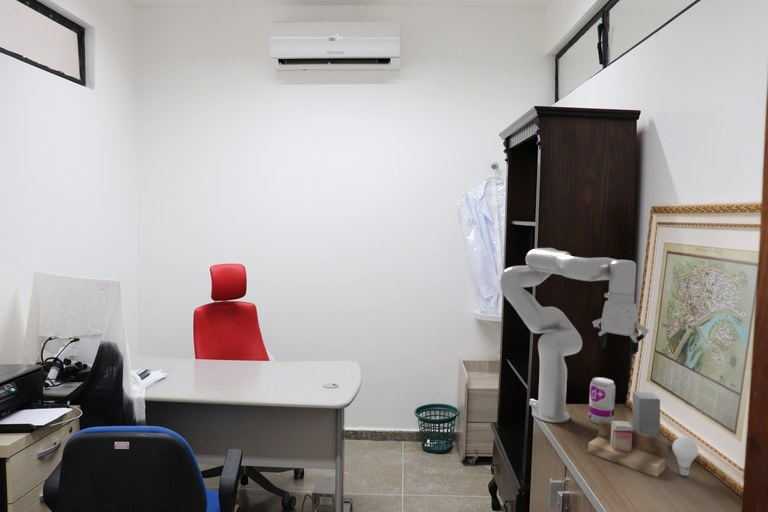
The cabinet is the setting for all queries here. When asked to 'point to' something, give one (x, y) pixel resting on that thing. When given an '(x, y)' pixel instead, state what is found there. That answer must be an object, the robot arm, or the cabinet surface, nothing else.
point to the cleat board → (632, 450)
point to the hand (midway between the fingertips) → (618, 350)
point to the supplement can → (601, 400)
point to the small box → (621, 436)
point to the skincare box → (646, 413)
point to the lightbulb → (684, 454)
